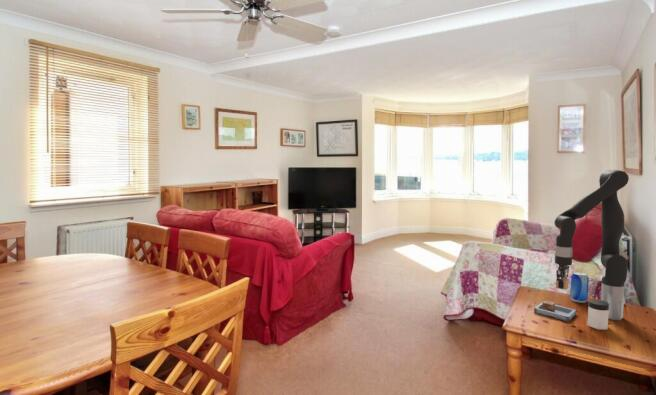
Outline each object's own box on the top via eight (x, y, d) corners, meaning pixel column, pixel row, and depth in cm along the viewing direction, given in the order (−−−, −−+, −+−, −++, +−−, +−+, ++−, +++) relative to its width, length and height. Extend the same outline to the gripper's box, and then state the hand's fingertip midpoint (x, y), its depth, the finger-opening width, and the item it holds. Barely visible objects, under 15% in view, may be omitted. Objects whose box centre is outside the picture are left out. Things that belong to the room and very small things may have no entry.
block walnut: (554, 310, 200) (555, 302, 200) (551, 313, 197) (552, 304, 197) (545, 308, 204) (545, 300, 203) (542, 310, 201) (542, 302, 200)
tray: (575, 314, 197) (576, 309, 197) (568, 321, 188) (568, 317, 188) (542, 306, 209) (542, 301, 208) (533, 312, 200) (534, 308, 200)
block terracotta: (568, 287, 195) (568, 279, 194) (565, 290, 192) (566, 281, 191) (558, 285, 198) (558, 277, 198) (555, 287, 195) (556, 279, 195)
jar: (612, 328, 181) (613, 303, 180) (602, 331, 177) (604, 306, 176) (592, 321, 189) (593, 297, 188) (582, 324, 185) (584, 300, 184)
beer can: (590, 303, 212) (592, 275, 210) (575, 303, 212) (577, 275, 210) (581, 297, 220) (582, 271, 219) (566, 298, 220) (568, 271, 219)
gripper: (568, 258, 186) (566, 292, 187) (575, 253, 195) (574, 285, 197) (551, 256, 191) (549, 289, 193) (559, 251, 201) (558, 282, 202)
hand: (562, 287), depth 195 cm, fingers closed on block terracotta, 4 cm apart
